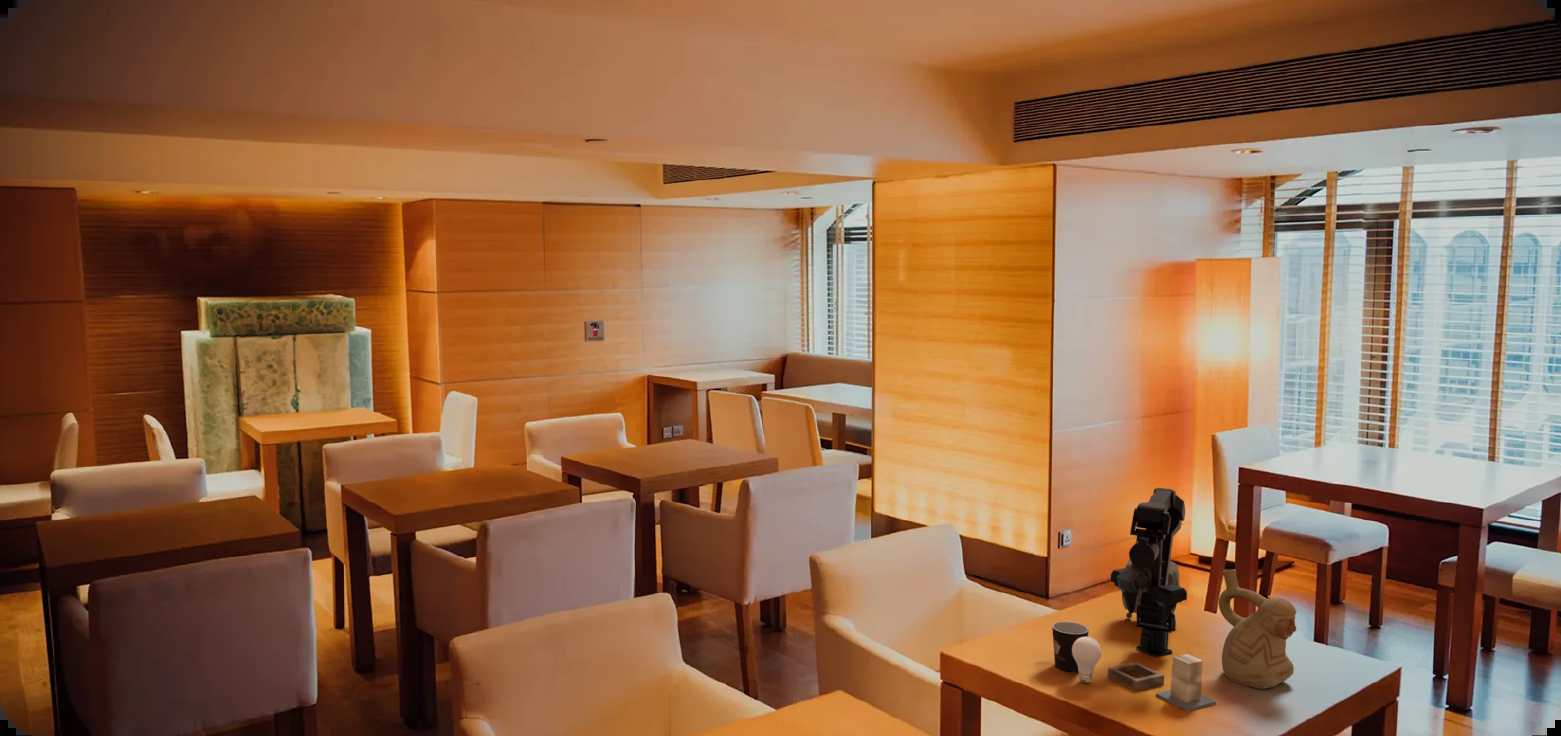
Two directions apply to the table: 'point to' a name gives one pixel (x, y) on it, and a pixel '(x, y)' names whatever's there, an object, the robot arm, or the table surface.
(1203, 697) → the felt pad
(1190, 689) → the maple block
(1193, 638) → the table surface
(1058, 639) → the coffee mug
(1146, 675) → the frame
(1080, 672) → the light bulb
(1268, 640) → the ceramic vessel
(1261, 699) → the table surface
